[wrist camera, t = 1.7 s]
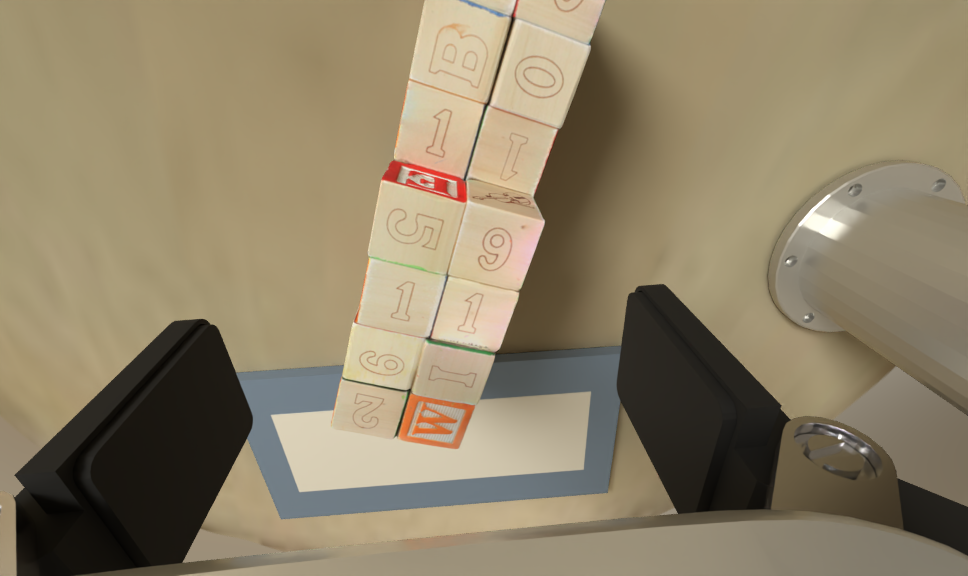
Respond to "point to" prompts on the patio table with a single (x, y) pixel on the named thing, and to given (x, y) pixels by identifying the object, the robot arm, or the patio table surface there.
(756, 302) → the patio table surface
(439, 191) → the stack of blocks
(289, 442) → the board
